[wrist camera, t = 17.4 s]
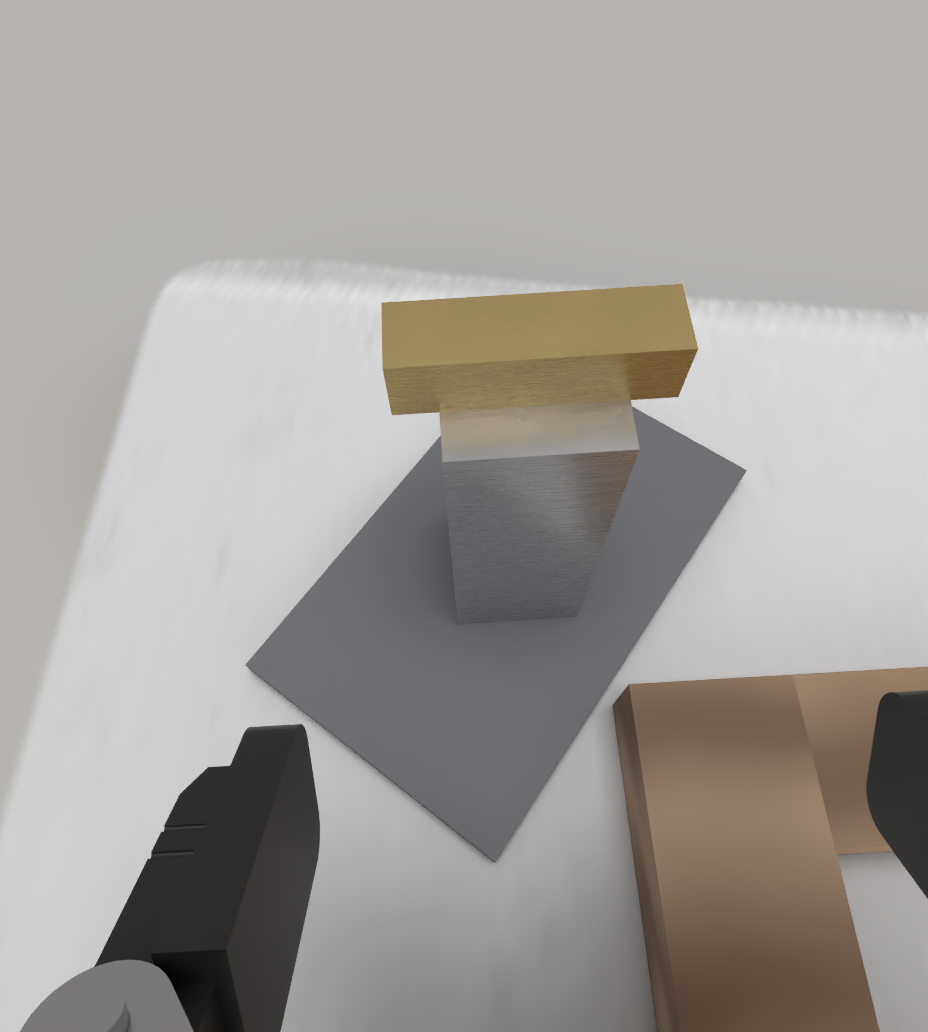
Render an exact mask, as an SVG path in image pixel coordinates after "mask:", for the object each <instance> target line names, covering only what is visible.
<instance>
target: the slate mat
mask: <svg viewBox="0 0 928 1032" xmlns="http://www.w3.org/2000/svg"><path fill="white" fill-rule="evenodd" d="M632 411H633V416H634V421H635V427H636V432H637V437H638V443H639V448H640V450H639V453H638V456H637V458H636V461H635V464H634V466H633V469H632V472H631V474H630V477H629V480H628V482H627V485H626V488H625V490H624V493H623V496H622V498H621V501H620V504H619V506H618V509H617V512H616V514H615V517H614V520H613V522H612V525H611V528H610V530H609V533H608V536H607V538H606V541H605V544H604V546H603V549H602V552H601V554H600V557H599V560H598V562H597V565H596V568H595V570H594V573H593V576H592V578H591V581H590V584H589V586H588V589H587V592H586V594H585V597H584V600H583V602H582V605H581V608H580V610H579V613H578V616H577V617H567V618H551V619H536V620H521V621H506V622H491V623H476V624H460V625H458V622H457V611H456V600H455V590H454V579H453V568H452V558H451V547H450V536H449V526H448V515H447V504H446V494H445V483H444V473H443V462H442V444H441V436H440V437H439V438H438V440H437V441H436V442H435V443H434V444H433V445H432V447H431V448H430V449H429V450H428V451H427V452H426V454H425V455H424V456H423V457H422V458H421V460H420V461H419V462H418V463H417V464H416V465H415V467H414V468H413V469H412V470H411V471H410V472H409V474H408V475H407V476H406V477H405V478H404V479H403V481H402V482H401V483H400V484H399V485H398V487H397V488H396V489H395V490H394V491H393V492H392V494H391V495H390V496H389V497H388V498H387V499H386V501H385V502H384V503H383V504H382V505H381V506H380V508H379V509H378V510H377V511H376V512H375V514H374V515H373V516H372V517H371V518H370V519H369V521H368V522H367V523H366V524H365V525H364V526H363V528H362V529H361V530H360V531H359V532H358V533H357V535H356V536H355V537H354V538H353V539H352V540H351V542H350V543H349V544H348V545H347V546H346V548H345V549H344V550H343V551H342V552H341V553H340V555H339V556H338V557H337V558H336V559H335V560H334V562H333V563H332V564H331V565H330V566H329V567H328V569H327V570H326V571H325V572H324V573H323V575H322V576H321V577H320V578H319V579H318V580H317V582H316V583H315V584H314V585H313V586H312V587H311V589H310V590H309V591H308V592H307V593H306V594H305V596H304V597H303V598H302V599H301V600H300V602H299V603H298V604H297V605H296V606H295V607H294V609H293V610H292V611H291V612H290V613H289V614H288V616H287V617H286V618H285V619H284V620H283V621H282V623H281V624H280V625H279V626H278V627H277V628H276V630H275V631H274V632H273V633H272V634H271V636H270V637H269V638H268V639H267V640H266V641H265V643H264V644H263V645H262V646H261V647H260V648H259V650H258V651H257V652H256V653H255V654H254V655H253V657H252V658H251V659H250V660H249V661H248V663H247V664H246V666H247V667H248V668H249V669H250V670H251V671H253V672H254V673H255V674H256V675H258V676H259V677H260V678H261V679H263V680H264V681H265V682H267V683H268V684H269V685H270V686H272V687H273V688H274V689H275V690H277V691H278V692H279V693H281V694H282V695H283V696H284V697H286V698H287V699H288V700H289V701H291V702H292V703H293V704H295V705H296V706H297V707H298V708H300V709H301V710H302V711H303V712H305V713H306V714H307V715H308V716H310V717H311V718H312V719H314V720H315V721H316V722H317V723H319V724H320V725H321V726H322V727H324V728H325V729H326V730H328V731H329V732H330V733H331V734H333V735H334V736H335V737H336V738H338V739H339V740H340V741H342V742H343V743H344V744H345V745H347V746H348V747H349V748H350V749H352V750H353V751H354V752H355V753H357V754H358V755H359V756H361V757H362V758H363V759H364V760H366V761H367V762H368V763H369V764H371V765H372V766H373V767H375V768H376V769H377V770H378V771H380V772H381V773H382V774H383V775H385V776H386V777H387V778H389V779H390V780H391V781H392V782H394V783H395V784H396V785H397V786H399V787H400V788H401V789H403V790H404V791H405V792H406V793H408V794H409V795H410V796H411V797H413V798H414V799H415V800H416V801H418V802H419V803H420V804H422V805H423V806H424V807H425V808H427V809H428V810H429V811H430V812H432V813H433V814H434V815H436V816H437V817H438V818H439V819H441V820H442V821H443V822H444V823H446V824H447V825H448V826H450V827H451V828H452V829H453V830H455V831H456V832H457V833H458V834H460V835H461V836H462V837H463V838H465V839H466V840H467V841H469V842H470V843H471V844H472V845H474V846H475V847H476V848H477V849H479V850H480V851H481V852H483V853H484V854H485V855H486V856H488V857H489V858H490V859H491V860H493V861H494V862H495V861H496V860H497V858H498V857H499V855H500V854H501V852H502V851H503V849H504V847H505V846H506V844H507V843H508V841H509V840H510V838H511V837H512V835H513V833H514V832H515V830H516V829H517V827H518V826H519V824H520V823H521V821H522V819H523V818H524V816H525V815H526V813H527V812H528V810H529V809H530V807H531V805H532V804H533V802H534V801H535V799H536V798H537V796H538V795H539V793H540V791H541V790H542V788H543V787H544V785H545V784H546V782H547V781H548V779H549V777H550V776H551V774H552V773H553V771H554V770H555V768H556V767H557V765H558V763H559V762H560V760H561V759H562V757H563V756H564V754H565V753H566V751H567V749H568V748H569V746H570V745H571V743H572V742H573V740H574V739H575V737H576V735H577V734H578V732H579V731H580V729H581V728H582V726H583V724H584V723H585V721H586V720H587V718H588V717H589V715H590V714H591V712H592V710H593V709H594V707H595V706H596V704H597V703H598V701H599V700H600V698H601V696H602V695H603V693H604V692H605V690H606V689H607V687H608V686H609V684H610V682H611V681H612V679H613V678H614V676H615V675H616V673H617V672H618V670H619V668H620V667H621V665H622V664H623V662H624V661H625V659H626V658H627V656H628V654H629V653H630V651H631V650H632V648H633V647H634V645H635V644H636V642H637V640H638V639H639V637H640V636H641V634H642V633H643V631H644V630H645V628H646V626H647V625H648V623H649V622H650V620H651V619H652V617H653V616H654V614H655V612H656V611H657V609H658V608H659V606H660V605H661V603H662V602H663V600H664V598H665V597H666V595H667V594H668V592H669V591H670V589H671V588H672V586H673V584H674V583H675V581H676V580H677V578H678V577H679V575H680V573H681V572H682V570H683V569H684V567H685V566H686V564H687V563H688V561H689V559H690V558H691V556H692V555H693V553H694V552H695V550H696V549H697V547H698V545H699V544H700V542H701V541H702V539H703V538H704V536H705V535H706V533H707V531H708V530H709V528H710V527H711V525H712V524H713V522H714V521H715V519H716V517H717V516H718V514H719V513H720V511H721V510H722V508H723V507H724V505H725V503H726V502H727V500H728V499H729V497H730V496H731V494H732V493H733V491H734V489H735V488H736V486H737V485H738V483H739V482H740V480H741V479H742V477H743V475H744V474H745V472H746V471H747V470H745V469H743V468H741V467H740V466H738V465H736V464H734V463H732V462H731V461H729V460H727V459H725V458H724V457H722V456H720V455H718V454H716V453H715V452H713V451H711V450H709V449H707V448H706V447H704V446H702V445H700V444H698V443H697V442H695V441H693V440H691V439H689V438H688V437H686V436H684V435H682V434H680V433H679V432H677V431H675V430H673V429H671V428H670V427H668V426H666V425H664V424H662V423H661V422H659V421H657V420H655V419H653V418H652V417H650V416H648V415H646V414H644V413H643V412H641V411H639V410H637V409H636V408H634V407H632Z"/></svg>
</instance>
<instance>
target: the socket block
mask: <svg viewBox="0 0 928 1032" xmlns="http://www.w3.org/2000/svg"><path fill="white" fill-rule="evenodd" d="M921 690H928V667H917V668H900V669H883V670H866V671H849V672H832V673H815V674H797V675H780V676H763V677H746V678H729V679H712V680H695V681H677V682H660V683H643V684H629V685H628V686H627V688H626V689H625V690H624V691H623V693H622V694H621V695H620V696H619V698H618V699H617V700H616V702H615V703H614V704H613V710H614V718H615V725H616V732H617V739H618V747H619V754H620V761H621V769H622V776H623V783H624V790H625V798H626V805H627V812H628V820H629V827H630V834H631V841H632V849H633V856H634V863H635V871H636V878H637V885H638V892H639V900H640V907H641V914H642V922H643V929H644V936H645V943H646V951H647V958H648V965H649V973H650V980H651V987H652V994H653V1002H654V1009H655V1016H656V1023H657V1031H658V1032H880V1031H879V1027H878V1023H877V1019H876V1015H875V1010H874V1006H873V1002H872V998H871V994H870V990H869V986H868V982H867V978H866V973H865V969H864V965H863V961H862V957H861V953H860V949H859V945H858V941H857V937H856V932H855V928H854V924H853V920H852V916H851V912H850V908H849V904H848V900H847V895H846V891H845V887H844V883H843V879H842V875H841V871H840V867H839V863H838V858H837V854H854V853H871V852H888V851H893V850H892V849H891V848H890V846H889V845H888V843H887V842H886V841H885V839H884V838H883V837H882V835H881V834H880V832H879V831H878V829H877V827H876V825H875V823H874V821H873V819H872V816H871V813H870V810H869V806H868V801H867V793H866V783H867V776H868V769H869V763H870V756H871V750H872V743H873V737H874V730H875V724H876V717H877V711H878V706H879V702H880V700H881V698H882V697H883V696H884V695H885V694H886V693H888V692H904V691H921Z"/></svg>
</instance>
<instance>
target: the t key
mask: <svg viewBox="0 0 928 1032" xmlns="http://www.w3.org/2000/svg"><path fill="white" fill-rule="evenodd" d="M697 350H698V347H697V343H696V339H695V334H694V330H693V326H692V322H691V318H690V314H689V310H688V306H687V301H686V297H685V293H684V289H683V285H682V284H676V285H660V286H644V287H627V288H611V289H595V290H579V291H563V292H547V293H531V294H515V295H499V296H483V297H467V298H451V299H435V300H419V301H403V302H387V303H382V353H383V372H384V377H385V383H386V388H387V393H388V398H389V403H390V408H391V413H392V415H402V414H417V413H433V412H440V427H441V444H442V462H443V473H444V483H445V494H446V504H447V515H448V526H449V536H450V547H451V558H452V568H453V579H454V590H455V600H456V611H457V622H458V625H460V624H476V623H491V622H506V621H521V620H536V619H551V618H567V617H577V616H578V613H579V610H580V608H581V605H582V602H583V600H584V597H585V594H586V592H587V589H588V586H589V584H590V581H591V578H592V576H593V573H594V570H595V568H596V565H597V562H598V560H599V557H600V554H601V552H602V549H603V546H604V544H605V541H606V538H607V536H608V533H609V530H610V528H611V525H612V522H613V520H614V517H615V514H616V512H617V509H618V506H619V504H620V501H621V498H622V496H623V493H624V490H625V488H626V485H627V482H628V480H629V477H630V474H631V472H632V469H633V466H634V464H635V461H636V458H637V456H638V453H639V450H640V448H639V443H638V437H637V432H636V427H635V421H634V416H633V411H632V405H631V400H637V399H653V398H669V397H678V396H679V393H680V391H681V389H682V386H683V384H684V381H685V379H686V377H687V374H688V372H689V369H690V367H691V364H692V362H693V360H694V357H695V355H696V352H697Z"/></svg>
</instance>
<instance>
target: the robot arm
mask: <svg viewBox="0 0 928 1032" xmlns="http://www.w3.org/2000/svg"><path fill="white" fill-rule="evenodd" d="M866 793H867V801H868V806H869V810H870V813H871V816H872V819H873V821H874V823H875V825H876V827H877V829H878V831H879V832H880V834H881V835H882V837H883V838H884V839H885V841H886V842H887V843H888V845H889V846H890V848H891V849H892V850H893V852H894V853H895V854H896V856H897V857H898V858H899V860H900V861H901V863H902V864H903V865H904V867H905V868H906V869H907V871H908V872H909V874H910V875H911V876H912V878H913V879H914V880H915V882H916V883H917V885H918V886H919V887H920V889H921V890H922V891H923V893H924V894H925V896H926V897H927V898H928V690H921V691H904V692H888V693H886V694H885V695H884V696H883V697H882V698H881V700H880V702H879V706H878V711H877V717H876V724H875V730H874V737H873V743H872V750H871V756H870V763H869V769H868V776H867V783H866ZM319 842H320V821H319V811H318V804H317V798H316V791H315V784H314V778H313V771H312V765H311V758H310V751H309V745H308V738H307V734H306V730H305V728H304V726H303V725H302V724H298V725H281V726H263V727H249V728H247V730H246V731H245V733H244V735H243V737H242V740H241V742H240V744H239V747H238V749H237V751H236V754H235V756H234V758H233V761H232V763H231V766H221V767H208V768H207V769H206V770H205V771H204V772H203V773H202V774H201V775H200V776H199V777H198V778H196V779H195V780H194V781H193V782H192V783H191V784H190V785H189V786H188V787H187V788H186V789H185V790H184V791H183V792H182V793H181V794H180V795H179V797H178V799H177V801H176V803H175V805H174V807H173V809H172V811H171V813H170V815H169V817H168V819H167V821H166V823H165V829H164V832H161V834H160V836H159V838H158V840H157V842H156V844H155V846H154V848H153V850H152V852H151V853H152V855H151V859H148V860H147V862H146V864H145V866H144V868H143V870H142V872H141V874H140V876H139V878H138V880H137V882H136V884H135V886H134V888H133V890H132V892H131V894H130V896H129V898H128V900H127V902H126V904H125V906H124V908H123V910H122V912H121V915H120V917H119V919H118V921H117V923H116V925H115V927H114V929H113V931H112V933H111V935H110V937H109V939H108V941H107V943H106V945H105V947H104V949H103V951H102V953H101V955H100V957H99V959H98V961H97V963H96V965H95V966H94V967H93V968H91V969H89V970H87V971H85V972H83V973H81V974H78V975H77V976H75V977H74V978H72V979H70V980H69V981H67V982H66V983H64V984H63V985H62V986H60V987H59V988H58V989H56V990H55V991H54V992H52V993H51V994H50V995H49V996H48V997H47V998H46V999H45V1000H44V1001H43V1002H42V1003H41V1004H40V1005H39V1006H38V1007H37V1009H36V1010H35V1011H34V1012H33V1013H32V1014H31V1016H30V1017H29V1019H28V1020H27V1022H26V1023H25V1024H24V1026H23V1027H22V1029H21V1031H20V1032H280V1031H281V1026H282V1022H283V1017H284V1013H285V1008H286V1003H287V999H288V994H289V990H290V985H291V980H292V976H293V971H294V967H295V962H296V957H297V953H298V948H299V944H300V939H301V935H302V930H303V925H304V921H305V916H306V912H307V907H308V902H309V898H310V893H311V889H312V884H313V879H314V875H315V870H316V866H317V860H318V854H319Z"/></svg>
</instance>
